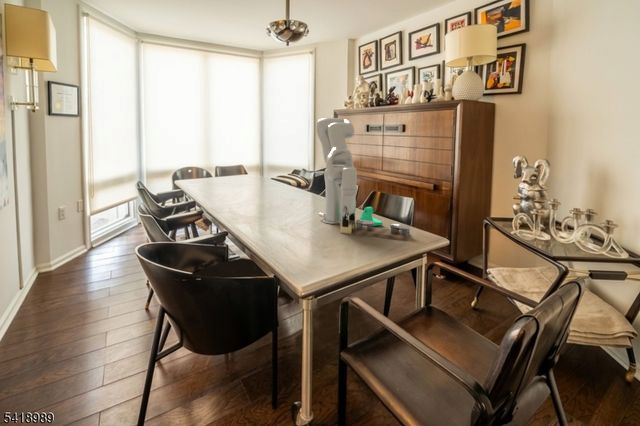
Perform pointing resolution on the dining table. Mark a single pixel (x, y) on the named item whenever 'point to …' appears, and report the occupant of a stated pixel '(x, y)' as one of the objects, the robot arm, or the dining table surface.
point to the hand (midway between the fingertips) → (348, 225)
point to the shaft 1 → (364, 224)
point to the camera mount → (369, 216)
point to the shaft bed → (381, 233)
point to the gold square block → (348, 229)
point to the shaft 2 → (397, 227)
